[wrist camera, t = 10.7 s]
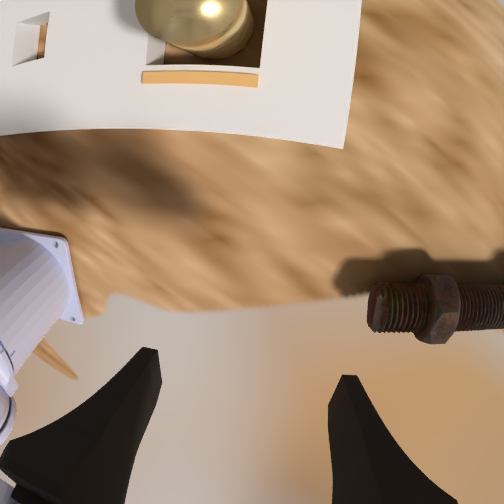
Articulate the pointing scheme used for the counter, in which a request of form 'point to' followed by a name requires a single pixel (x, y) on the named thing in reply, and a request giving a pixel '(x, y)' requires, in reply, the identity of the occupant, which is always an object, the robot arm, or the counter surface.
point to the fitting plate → (176, 73)
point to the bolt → (435, 307)
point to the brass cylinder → (198, 24)
